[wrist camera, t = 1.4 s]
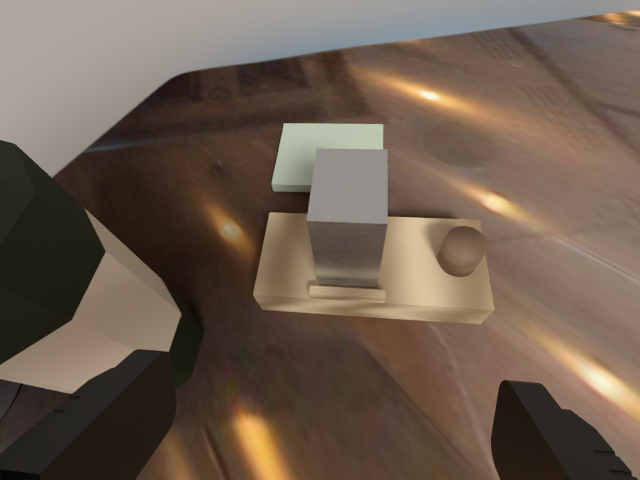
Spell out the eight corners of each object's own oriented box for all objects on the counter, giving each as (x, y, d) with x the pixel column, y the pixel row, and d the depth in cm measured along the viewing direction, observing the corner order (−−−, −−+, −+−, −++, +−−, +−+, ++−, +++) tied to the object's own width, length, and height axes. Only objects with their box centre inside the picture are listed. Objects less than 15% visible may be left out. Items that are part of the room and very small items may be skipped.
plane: (262, 309, 27) (244, 280, 23) (276, 232, 31) (263, 193, 26) (479, 324, 25) (508, 295, 21) (468, 240, 29) (490, 200, 24)
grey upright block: (318, 285, 25) (306, 220, 18) (325, 218, 27) (317, 140, 21) (376, 288, 24) (387, 224, 17) (377, 220, 27) (387, 141, 20)
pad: (273, 191, 33) (271, 184, 32) (285, 131, 37) (284, 123, 36) (381, 194, 32) (382, 187, 31) (382, 132, 36) (383, 124, 35)
